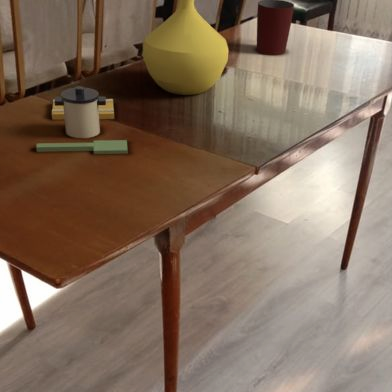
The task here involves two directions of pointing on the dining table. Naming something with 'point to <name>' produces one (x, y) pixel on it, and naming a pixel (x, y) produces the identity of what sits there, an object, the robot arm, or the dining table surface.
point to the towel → (104, 110)
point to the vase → (185, 52)
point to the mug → (273, 26)
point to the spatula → (87, 147)
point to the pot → (81, 111)
